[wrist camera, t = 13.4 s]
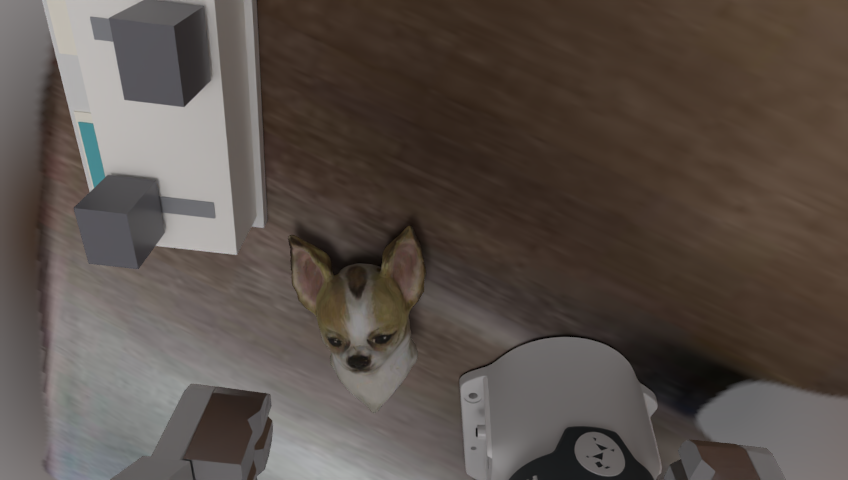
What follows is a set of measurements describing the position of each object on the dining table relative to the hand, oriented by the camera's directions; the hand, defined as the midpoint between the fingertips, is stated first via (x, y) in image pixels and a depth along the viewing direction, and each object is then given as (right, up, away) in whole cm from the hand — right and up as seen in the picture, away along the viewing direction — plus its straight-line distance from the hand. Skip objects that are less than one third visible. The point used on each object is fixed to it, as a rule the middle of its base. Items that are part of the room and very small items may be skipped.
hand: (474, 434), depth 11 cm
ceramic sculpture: (-6, 0, +38) cm, 38 cm away
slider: (-20, +6, +26) cm, 33 cm away
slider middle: (-14, +15, +20) cm, 29 cm away
